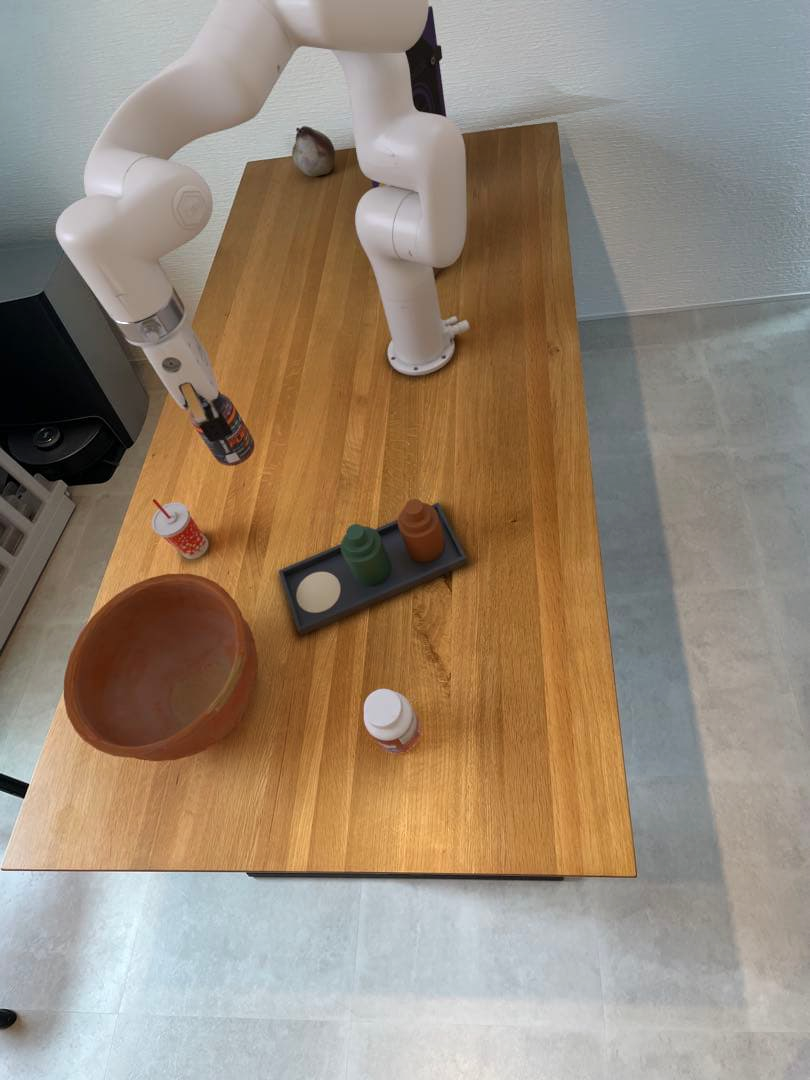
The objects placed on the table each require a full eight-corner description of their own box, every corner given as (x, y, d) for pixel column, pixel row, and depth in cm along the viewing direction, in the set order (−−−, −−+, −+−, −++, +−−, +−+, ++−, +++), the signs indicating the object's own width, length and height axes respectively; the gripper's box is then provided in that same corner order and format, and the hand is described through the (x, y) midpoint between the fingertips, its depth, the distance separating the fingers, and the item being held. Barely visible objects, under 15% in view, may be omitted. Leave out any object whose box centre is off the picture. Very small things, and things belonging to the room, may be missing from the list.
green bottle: (383, 546, 106) (367, 507, 97) (397, 576, 103) (381, 539, 94) (348, 561, 106) (328, 524, 97) (360, 592, 103) (341, 556, 94)
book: (400, 216, 150) (369, 68, 125) (377, 211, 153) (342, 65, 128) (454, 155, 159) (435, 5, 133) (431, 151, 161) (409, 3, 136)
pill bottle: (367, 736, 92) (346, 711, 83) (396, 700, 94) (379, 672, 84) (402, 765, 89) (384, 743, 80) (431, 727, 91) (417, 701, 82)
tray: (440, 509, 109) (438, 502, 107) (468, 563, 103) (466, 557, 101) (282, 576, 108) (278, 570, 106) (301, 636, 102) (297, 630, 100)
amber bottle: (436, 523, 107) (425, 482, 97) (451, 553, 103) (441, 514, 94) (401, 538, 106) (387, 499, 97) (415, 568, 103) (401, 531, 94)
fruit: (295, 184, 165) (278, 134, 155) (304, 161, 170) (288, 111, 159) (335, 181, 163) (320, 130, 152) (343, 158, 167) (329, 107, 157)
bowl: (236, 807, 90) (185, 784, 78) (91, 750, 98) (23, 720, 86) (311, 640, 101) (276, 595, 88) (174, 600, 109) (124, 554, 96)
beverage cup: (218, 535, 114) (180, 487, 102) (202, 566, 111) (160, 520, 100) (188, 528, 116) (147, 480, 104) (171, 559, 113) (127, 513, 102)
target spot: (332, 565, 106) (332, 564, 106) (346, 601, 103) (346, 601, 102) (291, 582, 106) (291, 582, 106) (303, 620, 102) (303, 619, 102)
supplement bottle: (248, 469, 94) (214, 415, 85) (210, 466, 96) (172, 413, 86) (261, 435, 97) (229, 379, 87) (224, 433, 99) (189, 378, 89)
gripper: (193, 348, 71) (256, 454, 86) (169, 257, 80) (230, 367, 95) (126, 374, 71) (201, 476, 86) (109, 281, 80) (180, 387, 95)
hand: (216, 418), depth 91 cm, fingers closed on supplement bottle, 6 cm apart
